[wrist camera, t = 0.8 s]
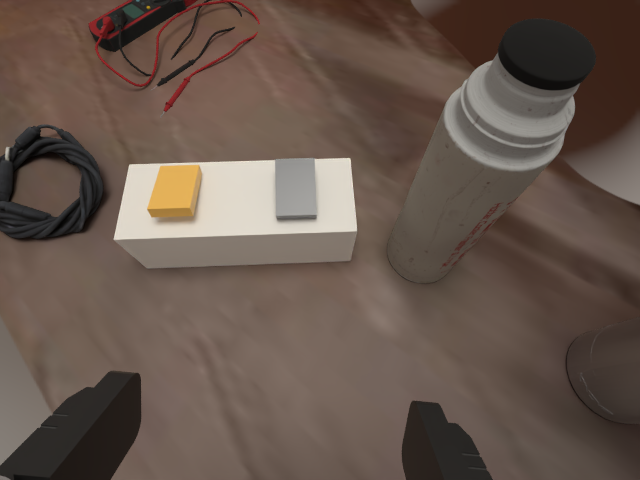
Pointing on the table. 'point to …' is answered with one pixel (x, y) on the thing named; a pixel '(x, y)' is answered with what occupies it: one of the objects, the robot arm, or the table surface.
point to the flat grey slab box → (295, 188)
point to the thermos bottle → (490, 145)
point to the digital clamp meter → (138, 18)
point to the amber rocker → (175, 191)
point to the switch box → (239, 218)
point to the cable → (38, 223)
